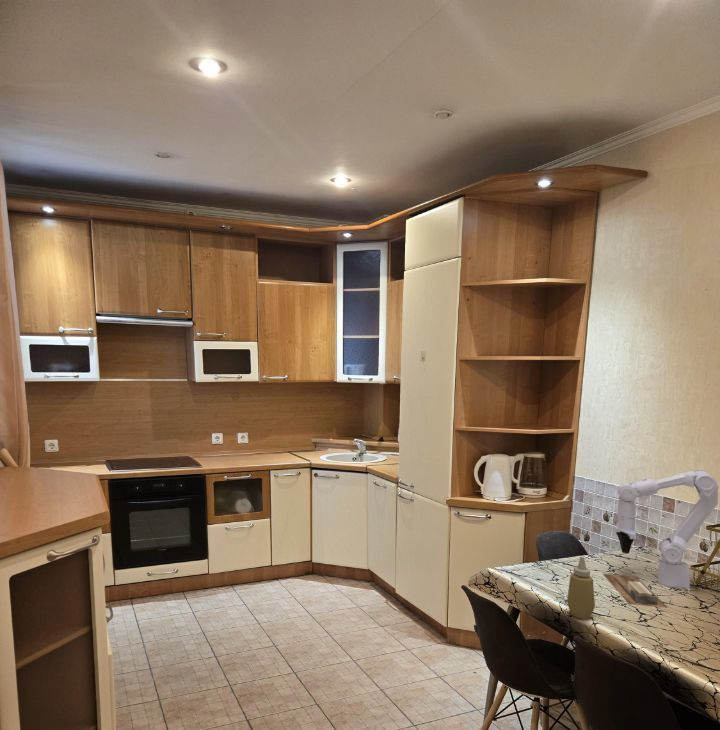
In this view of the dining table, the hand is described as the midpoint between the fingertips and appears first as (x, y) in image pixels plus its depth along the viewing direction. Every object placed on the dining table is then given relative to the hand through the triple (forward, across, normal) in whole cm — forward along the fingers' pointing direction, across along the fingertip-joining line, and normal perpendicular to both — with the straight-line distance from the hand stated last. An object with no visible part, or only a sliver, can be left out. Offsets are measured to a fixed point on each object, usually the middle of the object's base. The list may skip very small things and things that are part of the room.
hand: (625, 552), depth 192 cm
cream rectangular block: (+9, +19, -2) cm, 21 cm away
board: (+9, +13, -2) cm, 16 cm away
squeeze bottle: (+10, +36, -26) cm, 45 cm away
